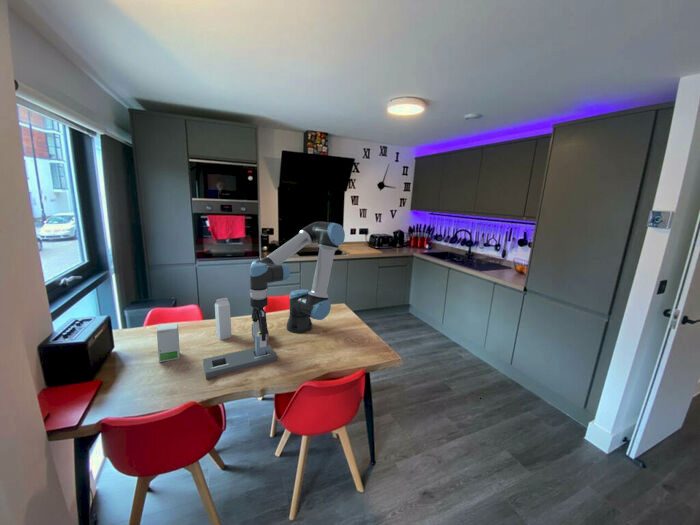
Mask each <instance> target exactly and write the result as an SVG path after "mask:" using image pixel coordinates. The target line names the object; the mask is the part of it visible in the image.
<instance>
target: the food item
mask: <svg viewBox="0 0 700 525" xmlns="http://www.w3.org/2000/svg"><path fill="white" fill-rule="evenodd" d="M259 332H260V327H259ZM251 336H252V339H253V342H254V343H255V335H253V323H251ZM269 337H270V333H269V331H268V334H266V345H268V344H269V340H270V338H269Z"/></svg>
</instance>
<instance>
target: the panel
mask: <svg viewBox="0 0 700 525" xmlns="http://www.w3.org/2000/svg"><path fill="white" fill-rule="evenodd" d="M277 359H278V358H277V354H276V353H275V350H273V347H272V346H271V344H266V355H262V356H258V357H256V356H255V347H252V348H247V349H244V350H243V349H242V350H238V351H235V352H230V353H224V354H221V355H215V356H211V357H207V358H203V359H202V361H203V362H202V363H203V368H204V369H203V370H204V374H205V380H208V379H213V378H217V376H222V375H225V374H230V373H233V372H237V371H241V370H245V369H249V368H254V367H257V366H262V365H266V364H269V363H274V362H277Z"/></svg>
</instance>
